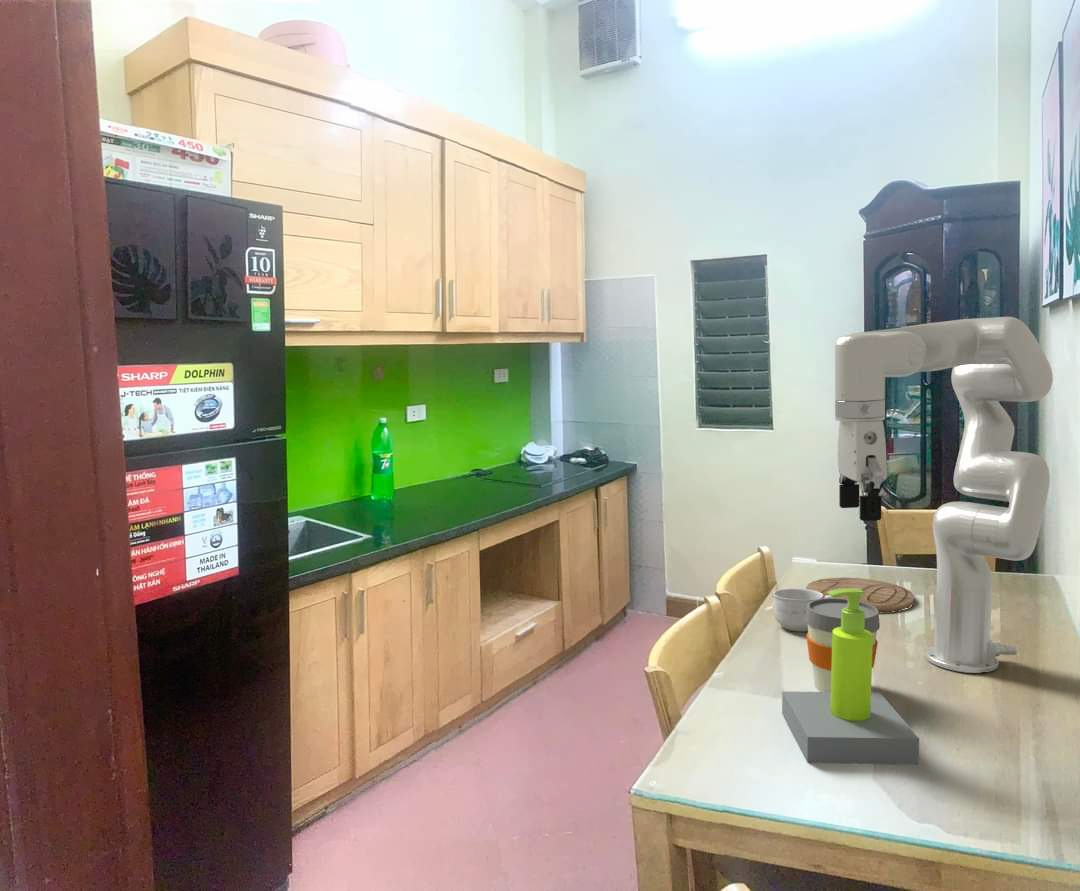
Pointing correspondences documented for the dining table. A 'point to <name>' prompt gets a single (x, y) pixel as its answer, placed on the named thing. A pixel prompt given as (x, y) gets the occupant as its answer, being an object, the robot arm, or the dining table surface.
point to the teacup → (794, 607)
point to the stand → (848, 731)
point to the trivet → (868, 592)
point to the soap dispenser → (851, 661)
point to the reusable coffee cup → (819, 637)
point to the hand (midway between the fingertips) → (859, 513)
